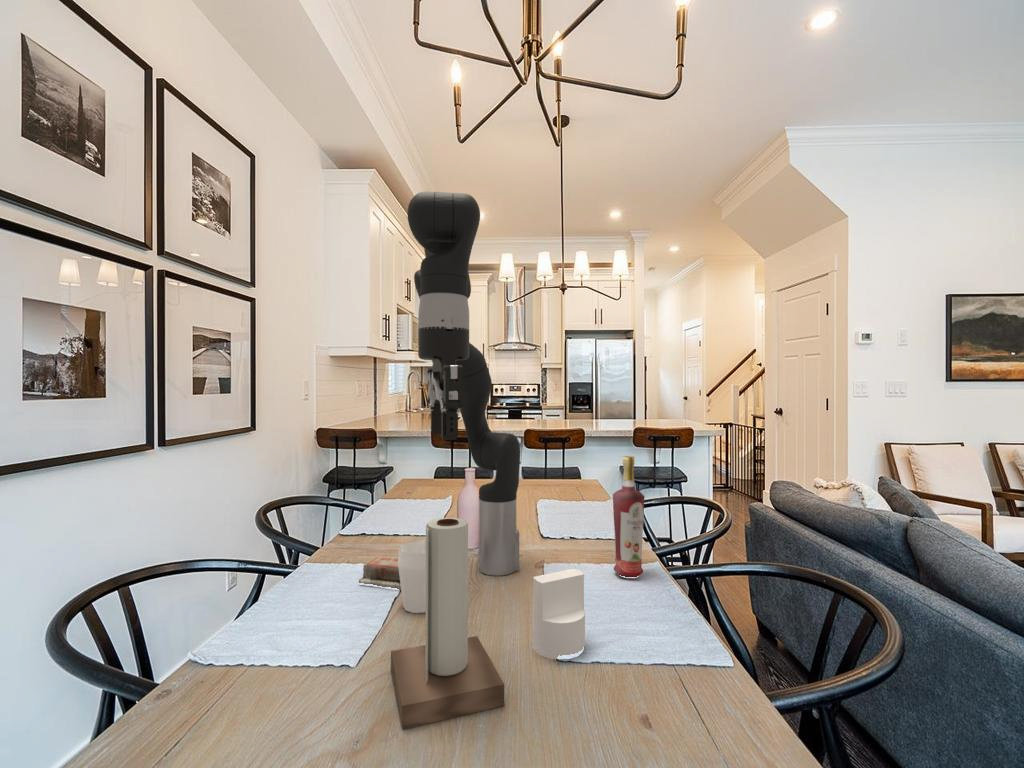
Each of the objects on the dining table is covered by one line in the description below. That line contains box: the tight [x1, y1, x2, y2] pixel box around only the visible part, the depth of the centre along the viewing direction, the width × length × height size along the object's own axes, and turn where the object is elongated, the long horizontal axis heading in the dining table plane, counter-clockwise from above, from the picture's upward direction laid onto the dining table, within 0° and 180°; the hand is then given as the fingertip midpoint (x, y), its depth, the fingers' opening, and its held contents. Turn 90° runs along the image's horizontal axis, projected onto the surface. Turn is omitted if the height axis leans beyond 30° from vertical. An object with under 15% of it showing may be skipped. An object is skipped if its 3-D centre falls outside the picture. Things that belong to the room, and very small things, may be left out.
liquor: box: [612, 455, 645, 577], centre depth 116 cm, size 7×7×28 cm
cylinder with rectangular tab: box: [532, 568, 586, 660], centre depth 84 cm, size 9×9×12 cm
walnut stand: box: [390, 635, 505, 730], centre depth 72 cm, size 14×14×3 cm
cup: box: [397, 539, 426, 614], centre depth 99 cm, size 9×9×12 cm
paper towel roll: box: [425, 517, 469, 683], centre depth 72 cm, size 7×6×21 cm
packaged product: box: [358, 556, 401, 590], centre depth 112 cm, size 18×5×10 cm
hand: (443, 436), depth 72 cm, fingers open, 8 cm apart
